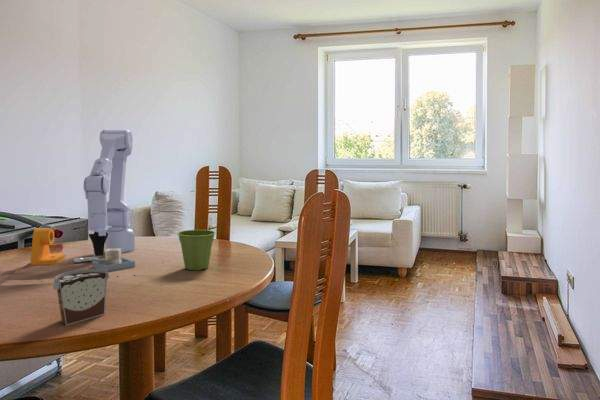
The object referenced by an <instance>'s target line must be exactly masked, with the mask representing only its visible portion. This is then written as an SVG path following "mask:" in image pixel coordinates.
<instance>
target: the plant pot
mask: <svg viewBox="0 0 600 400" xmlns="http://www.w3.org/2000/svg"><path fill="white" fill-rule="evenodd" d="M216 233H217V232H216V230H210V229H209V230H208V229H186V230H182V231H178V232H176V234H177V236H178V240H179V242H180V245H181V246H180V247H181V252H182V257H183V258H182V259H183V263H184V268H185V269H186V270H189V271H202V270H203V269H204V270H207V269H209V266H210V259H211V254H212V253H211V251H212V247H213V242H214V237H215V235H216Z"/></svg>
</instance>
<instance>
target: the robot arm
mask: <svg viewBox="0 0 600 400" xmlns="http://www.w3.org/2000/svg"><path fill="white" fill-rule="evenodd" d="M99 143H100V146H101V151H100V155H99V157H98V158H97V159H96V160H94V162H93V166H92V169H91V170H90V174H89V175H88V176H86V177H84V180H83V186H82V187H83V190H84V195H85V199H86V200H87V202H86V203H87V226H88V227H87V231H90V232H94V233H88V238H89V239H90V240H91V243H92V248H93V254H94V253H95V256H102V257H103V256H104V254H105V251H106V250H107V249H110V248H121V254H122V253H127V252H134V251H135V250H136V246H135V245H136V242H135V232H134V231H133V229H132V228H130V227H131V225H132V214H131V213H132V212H131V211H132V210H131V208H130V206H129V205H127V203H125V202H124V198H125V197H124V196H125V181H126V166H127V158H128V157H129V156H130V155H132V150H133V134H132V132H131V131H130V129H102V130H101V131H100V133H99ZM108 193H109V194H108ZM107 194H108V198H107ZM107 199H108V201H107Z"/></svg>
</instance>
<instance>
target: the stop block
mask: <svg viewBox="0 0 600 400" xmlns="http://www.w3.org/2000/svg"><path fill="white" fill-rule="evenodd" d="M121 257H122V253H121V248H110V249H107V250H106V251H105V250H104V258H105V265H111V264H118V263H122V259H121Z"/></svg>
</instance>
